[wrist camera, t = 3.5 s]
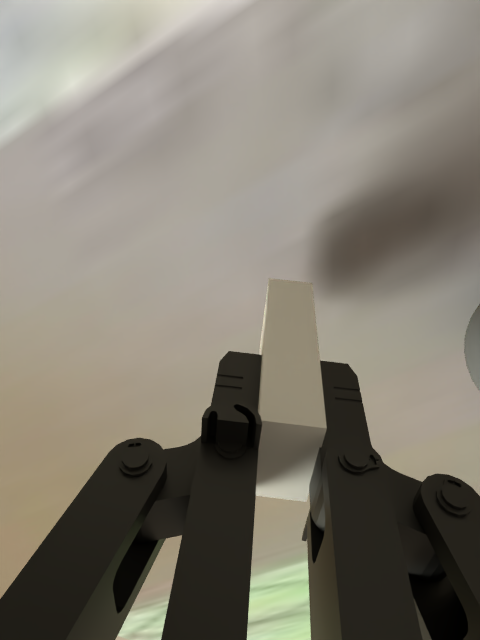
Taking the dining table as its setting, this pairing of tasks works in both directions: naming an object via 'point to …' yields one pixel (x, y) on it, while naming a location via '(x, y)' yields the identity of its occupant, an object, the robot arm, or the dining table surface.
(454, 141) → the dining table surface
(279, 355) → the robot arm
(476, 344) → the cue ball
